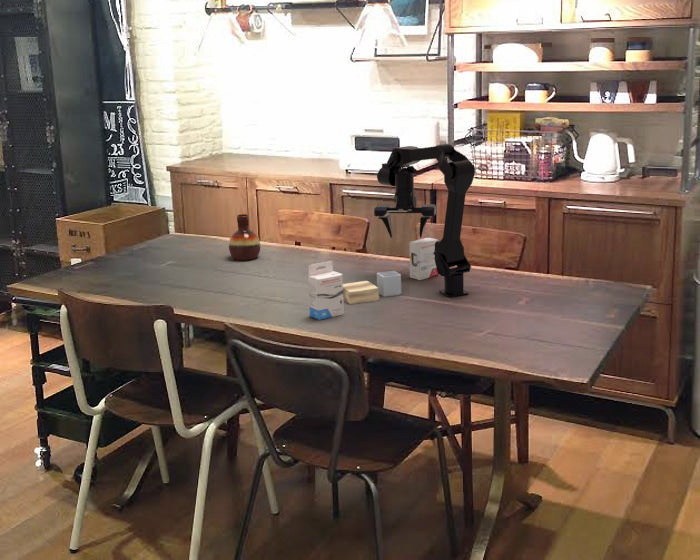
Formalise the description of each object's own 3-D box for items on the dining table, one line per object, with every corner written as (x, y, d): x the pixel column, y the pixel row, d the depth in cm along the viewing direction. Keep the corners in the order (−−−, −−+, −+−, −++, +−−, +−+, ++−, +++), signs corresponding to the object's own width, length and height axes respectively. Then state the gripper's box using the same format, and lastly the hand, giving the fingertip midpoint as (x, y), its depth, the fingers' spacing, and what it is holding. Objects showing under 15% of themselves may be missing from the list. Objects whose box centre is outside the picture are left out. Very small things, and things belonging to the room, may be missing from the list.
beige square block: (378, 301, 256) (378, 288, 255) (350, 305, 253) (349, 292, 252) (367, 293, 264) (367, 280, 263) (339, 297, 261) (338, 284, 260)
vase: (223, 258, 311) (220, 216, 307) (248, 253, 318) (245, 211, 314) (241, 263, 303) (238, 220, 299) (267, 257, 310) (264, 214, 306)
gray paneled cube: (401, 294, 261) (400, 274, 259) (384, 296, 259) (383, 276, 258) (394, 289, 266) (393, 270, 264) (377, 292, 264) (376, 272, 263)
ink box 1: (319, 320, 239) (316, 268, 236) (309, 316, 243) (306, 265, 239) (344, 314, 244) (342, 263, 240) (334, 310, 248) (332, 259, 244)
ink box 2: (428, 272, 284) (428, 236, 280) (439, 275, 280) (439, 239, 277) (408, 277, 278) (408, 241, 275) (419, 280, 274) (419, 244, 271)
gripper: (438, 183, 275) (439, 232, 279) (380, 184, 280) (382, 232, 284) (433, 189, 265) (434, 239, 269) (372, 189, 269) (374, 239, 273)
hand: (406, 237), depth 274 cm, fingers open, 9 cm apart
